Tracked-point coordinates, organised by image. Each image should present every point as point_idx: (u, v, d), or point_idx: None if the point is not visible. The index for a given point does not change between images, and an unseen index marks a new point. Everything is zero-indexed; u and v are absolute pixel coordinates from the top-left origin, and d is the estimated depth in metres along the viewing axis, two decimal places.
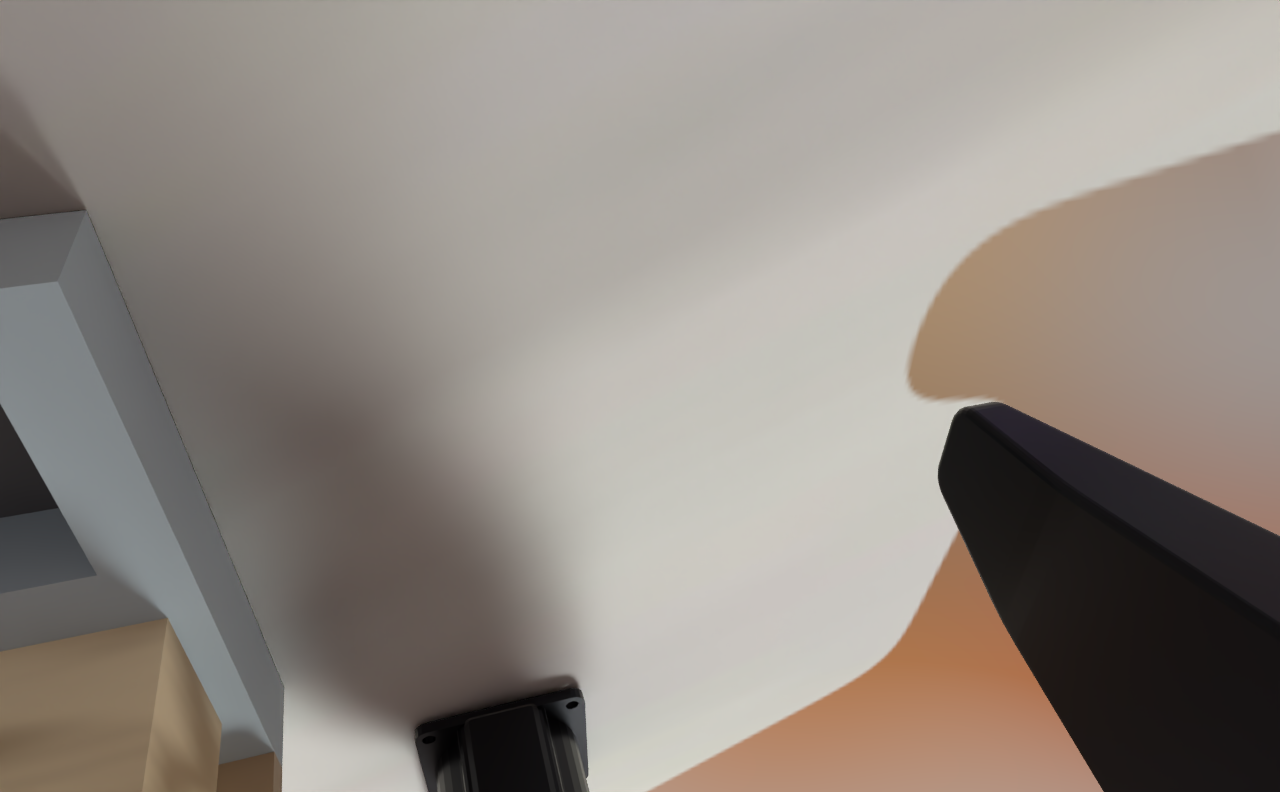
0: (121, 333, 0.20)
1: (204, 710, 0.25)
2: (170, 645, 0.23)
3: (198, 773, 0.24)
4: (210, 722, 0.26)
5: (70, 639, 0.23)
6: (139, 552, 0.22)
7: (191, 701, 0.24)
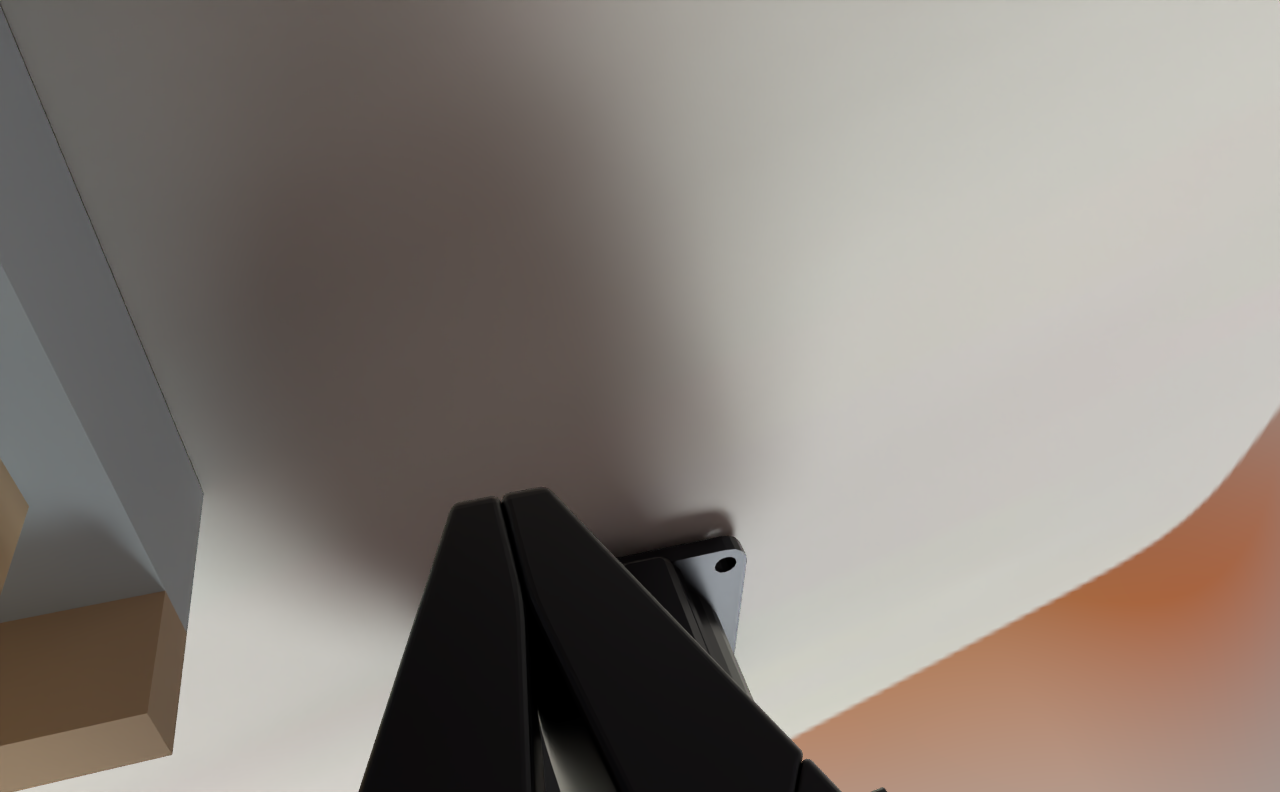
0: None
1: None
2: None
3: None
4: None
5: None
6: None
7: None
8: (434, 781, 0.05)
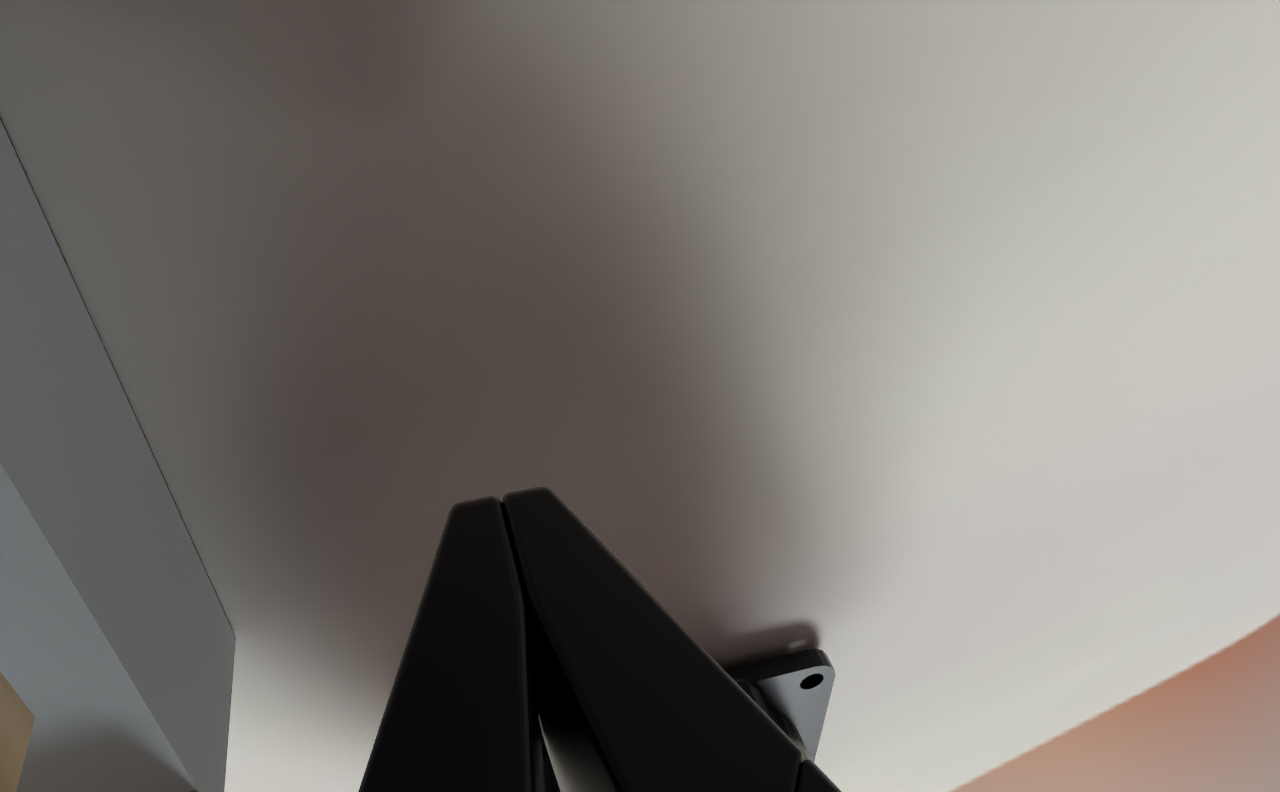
0: None
1: None
2: None
3: None
4: None
5: None
6: None
7: None
8: (434, 782, 0.05)
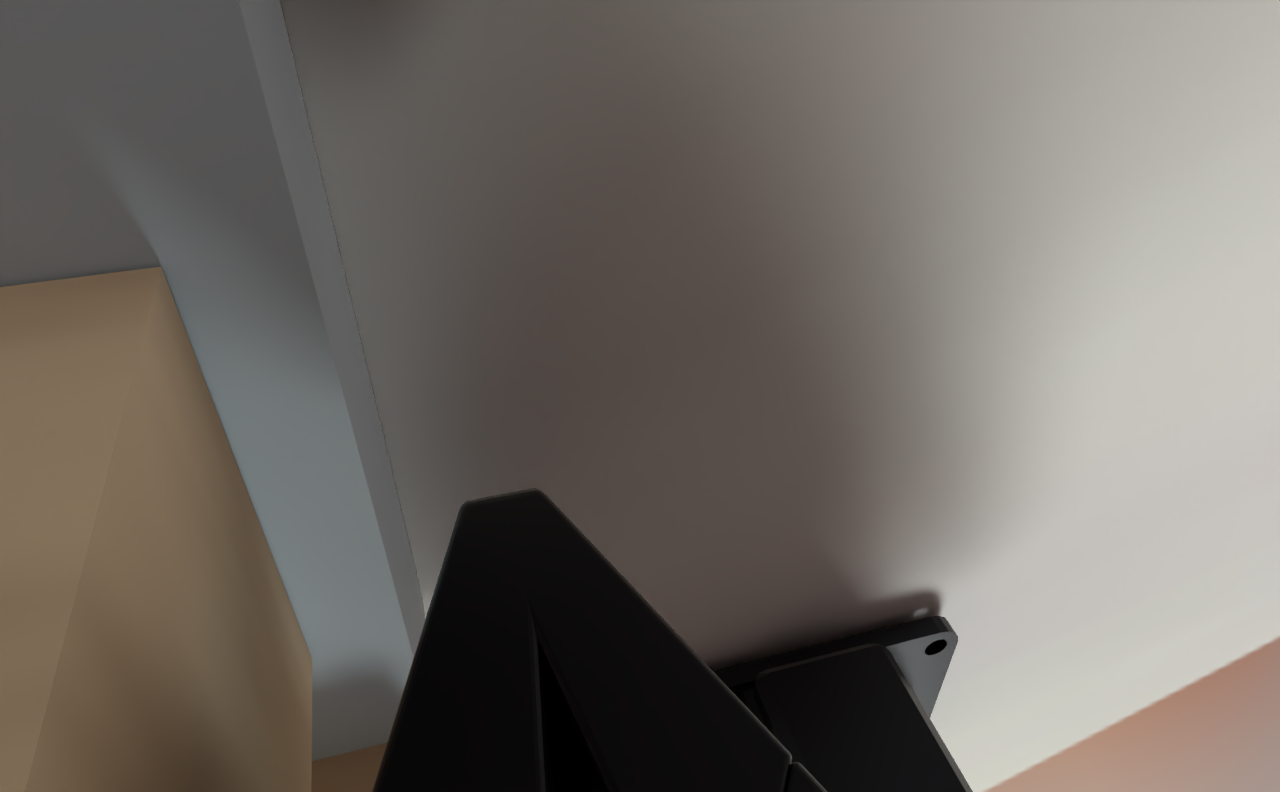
0: None
1: (272, 609, 0.08)
2: (170, 355, 0.07)
3: None
4: (288, 647, 0.09)
5: None
6: None
7: (239, 568, 0.08)
8: (448, 778, 0.05)
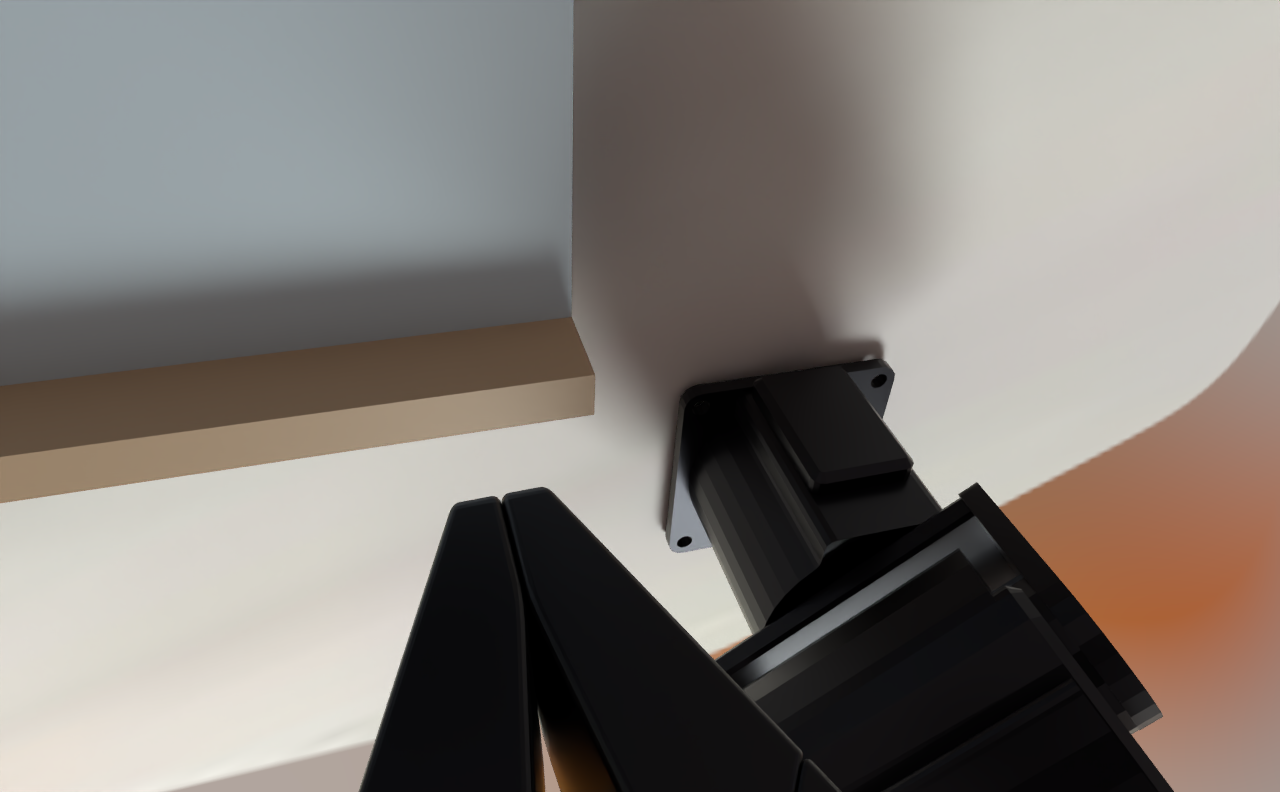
0: None
1: None
2: None
3: None
4: None
5: None
6: None
7: None
8: (434, 780, 0.05)
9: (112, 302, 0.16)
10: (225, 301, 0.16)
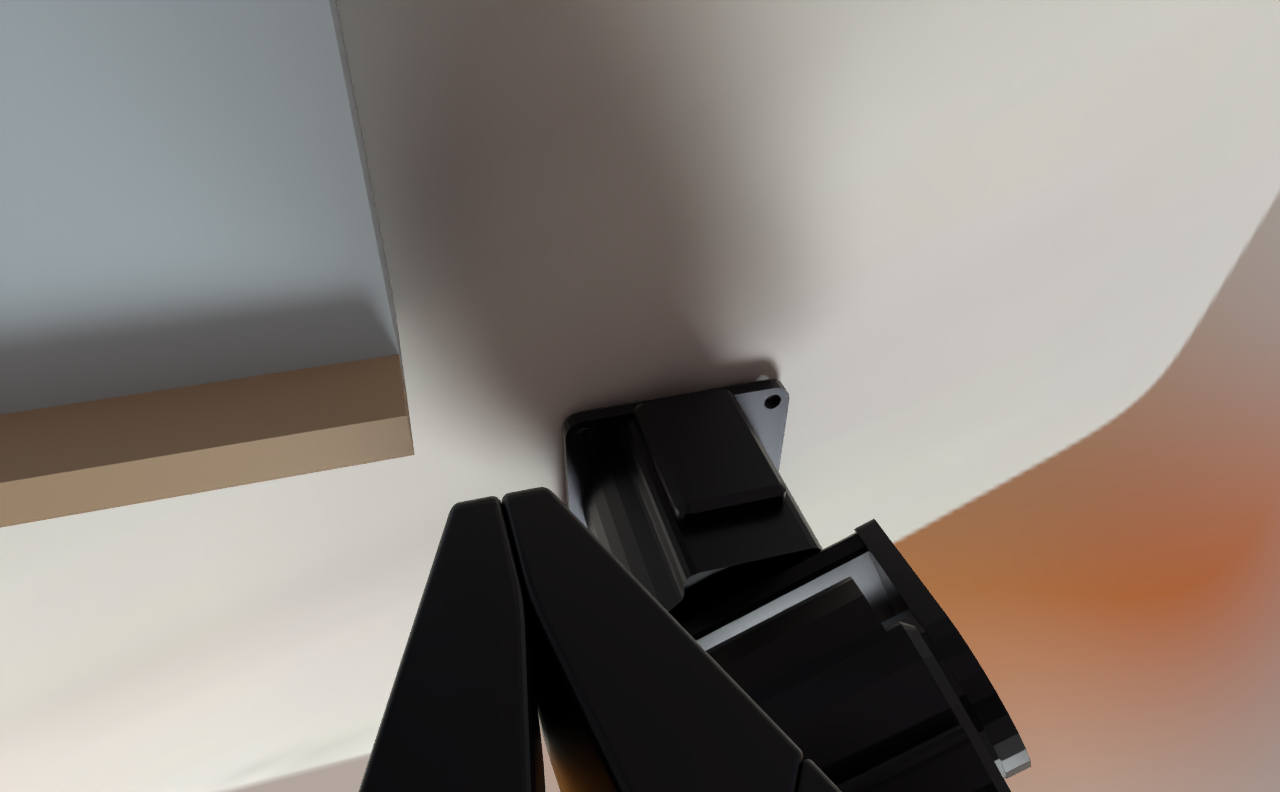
0: None
1: None
2: None
3: None
4: None
5: None
6: None
7: None
8: (434, 782, 0.05)
9: None
10: (22, 353, 0.16)
